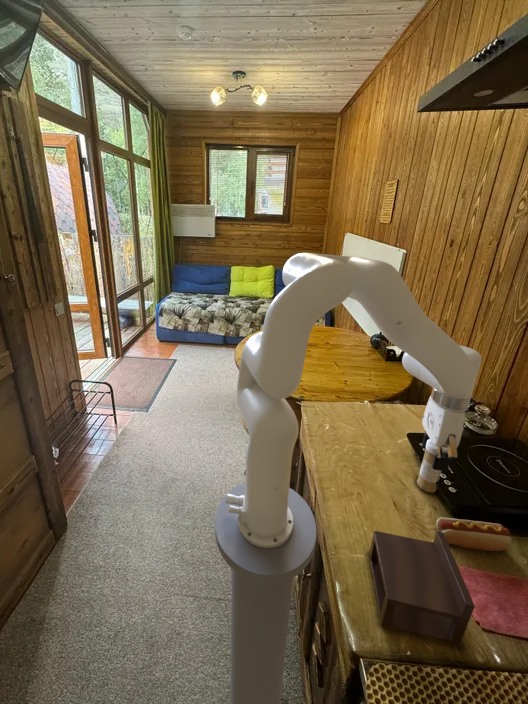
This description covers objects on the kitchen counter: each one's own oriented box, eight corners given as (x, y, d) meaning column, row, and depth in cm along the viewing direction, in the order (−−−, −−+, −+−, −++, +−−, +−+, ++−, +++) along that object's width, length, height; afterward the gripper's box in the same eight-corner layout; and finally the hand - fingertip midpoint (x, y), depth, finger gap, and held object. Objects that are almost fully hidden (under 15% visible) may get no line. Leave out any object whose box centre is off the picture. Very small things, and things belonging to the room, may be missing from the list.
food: (495, 533, 69) (501, 516, 67) (513, 558, 63) (520, 541, 62) (429, 525, 70) (434, 509, 69) (441, 550, 65) (447, 532, 63)
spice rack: (381, 626, 53) (391, 586, 49) (368, 555, 64) (376, 519, 61) (459, 646, 50) (475, 606, 47) (432, 569, 61) (443, 532, 58)
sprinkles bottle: (423, 476, 83) (434, 435, 79) (440, 489, 80) (452, 446, 75) (412, 482, 81) (423, 441, 77) (429, 496, 78) (441, 452, 73)
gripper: (420, 377, 81) (407, 434, 87) (447, 416, 65) (429, 483, 70) (451, 381, 80) (436, 438, 85) (487, 422, 63) (466, 489, 69)
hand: (433, 458), depth 78 cm, fingers open, 6 cm apart
